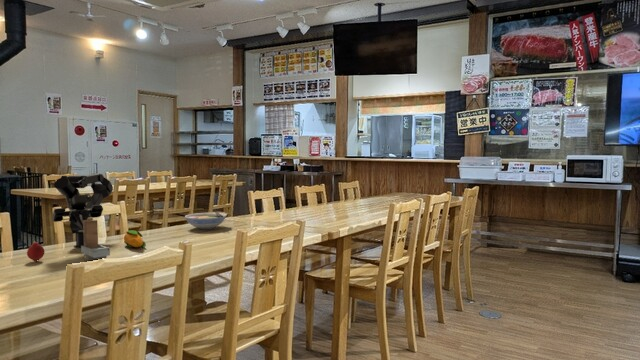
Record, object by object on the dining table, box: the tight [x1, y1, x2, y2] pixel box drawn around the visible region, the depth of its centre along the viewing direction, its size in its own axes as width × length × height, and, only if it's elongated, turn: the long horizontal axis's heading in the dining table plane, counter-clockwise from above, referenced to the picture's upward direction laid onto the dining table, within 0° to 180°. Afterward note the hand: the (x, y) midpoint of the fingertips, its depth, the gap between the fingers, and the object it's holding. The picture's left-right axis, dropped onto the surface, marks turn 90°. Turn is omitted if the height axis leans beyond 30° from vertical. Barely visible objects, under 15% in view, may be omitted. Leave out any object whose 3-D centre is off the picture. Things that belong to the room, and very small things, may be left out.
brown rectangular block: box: [83, 217, 99, 248], centre depth 187 cm, size 5×4×12 cm
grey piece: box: [80, 243, 111, 261], centre depth 184 cm, size 14×8×5 cm, turn 46°
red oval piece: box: [26, 241, 45, 262], centre depth 180 cm, size 6×6×8 cm
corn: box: [123, 229, 147, 249], centre depth 206 cm, size 7×8×20 cm
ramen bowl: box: [184, 211, 228, 230], centre depth 254 cm, size 25×23×8 cm
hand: (83, 228), depth 191 cm, fingers closed
